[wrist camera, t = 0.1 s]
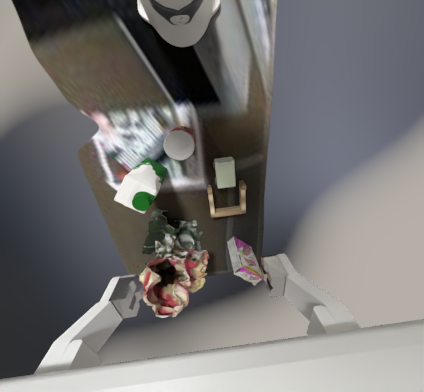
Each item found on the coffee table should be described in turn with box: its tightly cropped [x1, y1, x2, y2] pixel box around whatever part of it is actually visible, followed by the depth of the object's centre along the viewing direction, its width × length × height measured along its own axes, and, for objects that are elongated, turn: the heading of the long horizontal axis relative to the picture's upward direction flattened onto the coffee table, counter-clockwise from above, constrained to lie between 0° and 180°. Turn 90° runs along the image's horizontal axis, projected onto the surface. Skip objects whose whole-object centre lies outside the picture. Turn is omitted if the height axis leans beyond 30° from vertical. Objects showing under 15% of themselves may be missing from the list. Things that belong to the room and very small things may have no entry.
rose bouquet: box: [134, 209, 209, 318], centre depth 58 cm, size 26×29×30 cm
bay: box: [207, 180, 246, 218], centre depth 61 cm, size 12×13×5 cm
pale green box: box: [212, 157, 236, 189], centre depth 56 cm, size 9×7×6 cm
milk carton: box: [114, 158, 167, 214], centre depth 48 cm, size 9×9×20 cm
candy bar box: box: [227, 236, 263, 285], centre depth 67 cm, size 11×5×16 cm, turn 51°
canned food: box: [164, 126, 195, 160], centre depth 48 cm, size 8×8×11 cm
